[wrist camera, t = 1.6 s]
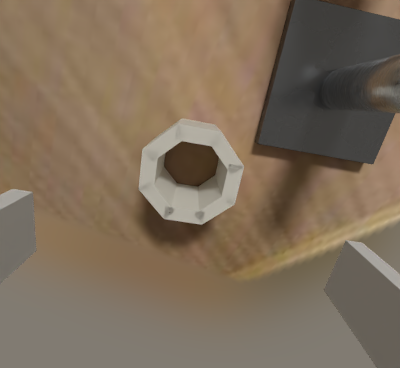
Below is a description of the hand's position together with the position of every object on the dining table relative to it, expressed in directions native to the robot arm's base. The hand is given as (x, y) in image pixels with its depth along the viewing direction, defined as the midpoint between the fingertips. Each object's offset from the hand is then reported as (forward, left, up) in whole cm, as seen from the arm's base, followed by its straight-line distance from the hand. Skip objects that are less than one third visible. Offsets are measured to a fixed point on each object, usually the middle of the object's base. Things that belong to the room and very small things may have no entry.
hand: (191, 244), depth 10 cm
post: (+12, +9, -15) cm, 21 cm away
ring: (0, 0, -15) cm, 15 cm away
